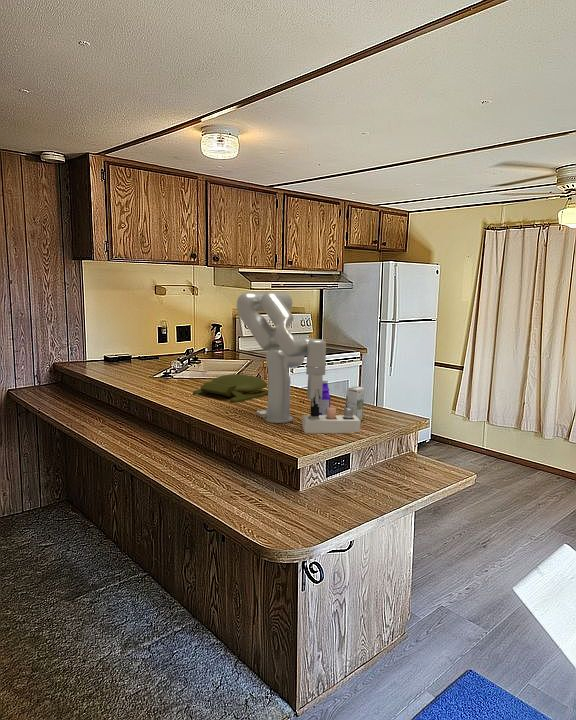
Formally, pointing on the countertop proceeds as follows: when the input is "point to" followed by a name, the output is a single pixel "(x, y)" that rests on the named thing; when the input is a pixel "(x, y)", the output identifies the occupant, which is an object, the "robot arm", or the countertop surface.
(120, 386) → the countertop surface
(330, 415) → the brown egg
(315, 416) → the left grey plug
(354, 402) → the syrup box
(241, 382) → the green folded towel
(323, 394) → the bottle
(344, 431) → the block
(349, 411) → the grey domed plug
